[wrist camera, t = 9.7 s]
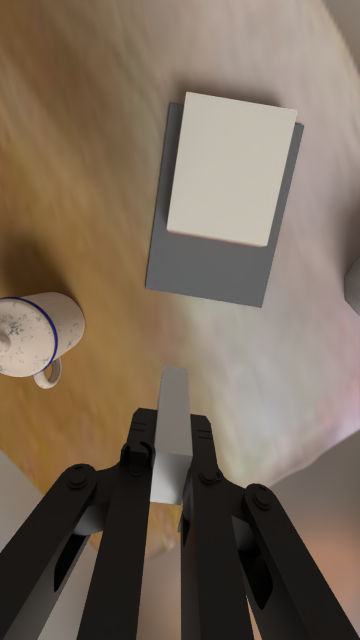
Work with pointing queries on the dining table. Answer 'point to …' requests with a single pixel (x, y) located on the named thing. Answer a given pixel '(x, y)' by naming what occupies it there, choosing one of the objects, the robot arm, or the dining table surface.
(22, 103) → the dining table surface
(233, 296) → the mat
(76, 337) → the teacup with lid
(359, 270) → the toilet tissue
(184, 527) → the robot arm
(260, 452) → the dining table surface
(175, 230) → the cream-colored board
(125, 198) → the dining table surface
